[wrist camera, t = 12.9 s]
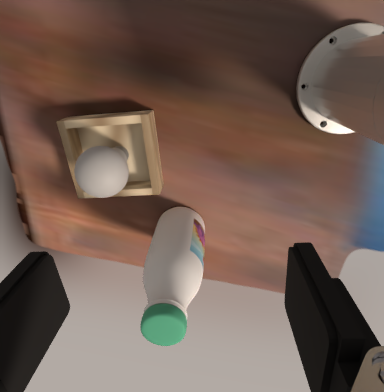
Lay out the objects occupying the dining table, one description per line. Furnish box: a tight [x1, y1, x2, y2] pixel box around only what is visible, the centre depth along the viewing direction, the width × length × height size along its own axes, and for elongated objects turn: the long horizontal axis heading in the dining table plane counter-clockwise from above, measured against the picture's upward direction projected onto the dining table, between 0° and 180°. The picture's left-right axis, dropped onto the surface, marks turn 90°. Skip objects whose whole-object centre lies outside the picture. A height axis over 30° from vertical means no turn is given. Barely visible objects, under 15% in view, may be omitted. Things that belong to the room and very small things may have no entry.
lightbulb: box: [74, 146, 129, 198], centre depth 35 cm, size 6×6×11 cm
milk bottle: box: [141, 207, 205, 346], centre depth 36 cm, size 8×8×20 cm
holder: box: [56, 110, 164, 199], centre depth 39 cm, size 12×11×4 cm
